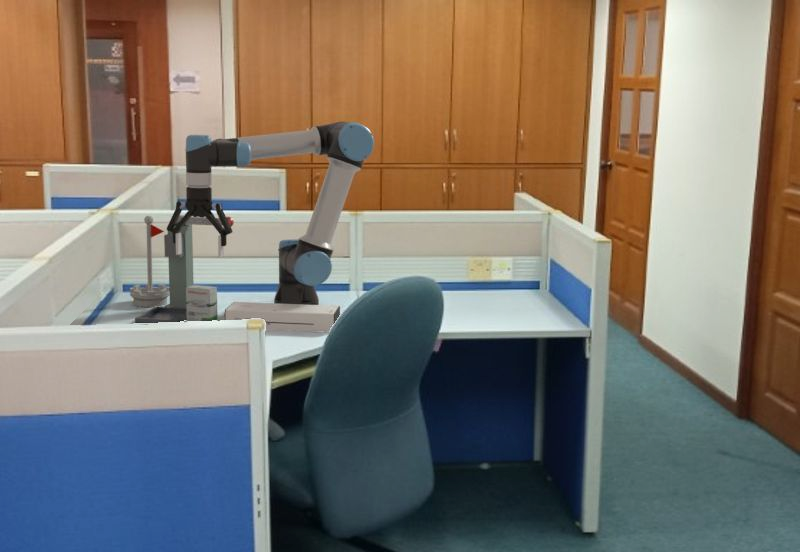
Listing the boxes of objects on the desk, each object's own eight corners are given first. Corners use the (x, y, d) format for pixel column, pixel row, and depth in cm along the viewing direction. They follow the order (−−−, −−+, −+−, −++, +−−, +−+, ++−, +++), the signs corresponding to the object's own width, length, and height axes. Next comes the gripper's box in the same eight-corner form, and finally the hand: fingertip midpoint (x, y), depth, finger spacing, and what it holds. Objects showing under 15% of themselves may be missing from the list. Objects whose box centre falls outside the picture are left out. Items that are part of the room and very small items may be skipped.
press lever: (169, 226, 301) (169, 215, 300) (175, 224, 305) (175, 213, 305) (230, 229, 297) (230, 217, 297) (236, 226, 302) (235, 215, 302)
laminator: (225, 329, 284) (224, 309, 283) (235, 319, 296) (235, 300, 295) (334, 333, 282) (334, 313, 280) (340, 323, 294) (340, 304, 292)
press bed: (197, 314, 300) (197, 308, 300) (177, 326, 285) (177, 320, 284) (156, 311, 302) (156, 306, 302) (135, 323, 287) (134, 318, 286)
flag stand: (124, 306, 308) (122, 217, 302) (138, 297, 321) (136, 212, 315) (162, 308, 307) (160, 219, 301) (175, 299, 320) (174, 213, 314)
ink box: (218, 323, 289) (217, 286, 287) (210, 327, 285) (209, 289, 283) (194, 320, 292) (193, 283, 290) (185, 324, 288) (184, 286, 285)
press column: (199, 306, 311) (197, 223, 306) (186, 313, 301) (184, 228, 295) (174, 304, 313) (171, 222, 307) (160, 312, 302) (158, 227, 296)
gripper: (242, 187, 282) (242, 255, 286) (164, 183, 286) (166, 251, 290) (234, 189, 275) (234, 259, 279) (154, 185, 278) (156, 255, 282)
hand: (199, 255), depth 284 cm, fingers open, 13 cm apart
